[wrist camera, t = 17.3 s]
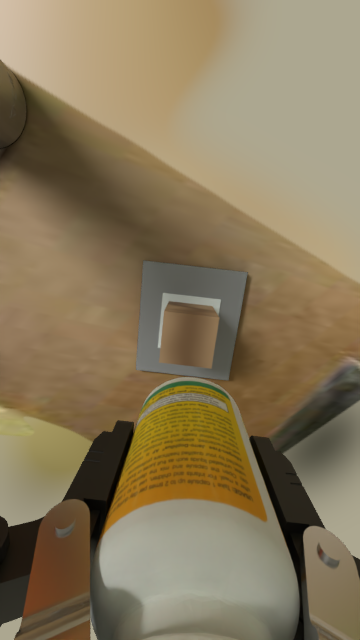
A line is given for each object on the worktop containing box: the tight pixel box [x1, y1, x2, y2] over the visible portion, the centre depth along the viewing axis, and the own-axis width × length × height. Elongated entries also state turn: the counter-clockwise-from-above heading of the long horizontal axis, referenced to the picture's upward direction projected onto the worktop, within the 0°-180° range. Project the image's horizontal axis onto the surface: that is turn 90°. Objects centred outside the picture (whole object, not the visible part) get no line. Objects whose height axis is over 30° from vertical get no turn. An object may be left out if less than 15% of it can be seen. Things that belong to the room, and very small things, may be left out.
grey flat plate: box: [136, 260, 248, 380], centre depth 32 cm, size 14×16×1 cm
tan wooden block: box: [159, 301, 219, 369], centre depth 28 cm, size 6×6×7 cm
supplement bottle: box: [90, 377, 300, 640], centre depth 8 cm, size 5×5×10 cm
